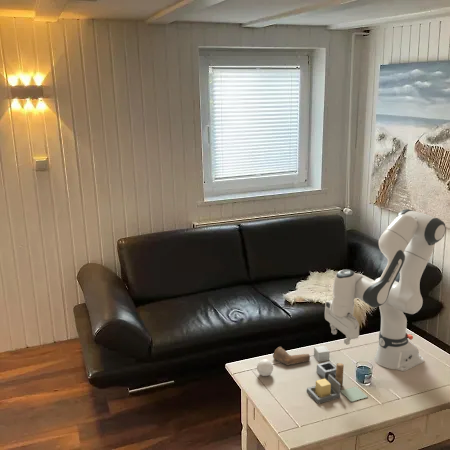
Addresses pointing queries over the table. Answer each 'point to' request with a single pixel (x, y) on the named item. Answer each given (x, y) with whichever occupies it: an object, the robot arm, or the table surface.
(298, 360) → the pipe
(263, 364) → the white ovoid
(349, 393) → the pad
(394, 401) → the table surface
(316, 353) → the small box
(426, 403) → the table surface
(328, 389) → the block
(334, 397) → the case
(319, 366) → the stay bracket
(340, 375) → the rod
